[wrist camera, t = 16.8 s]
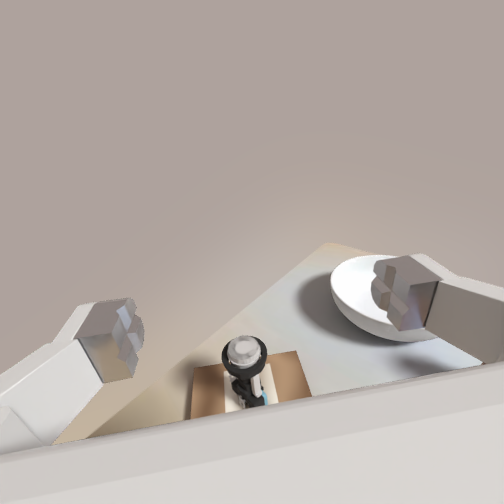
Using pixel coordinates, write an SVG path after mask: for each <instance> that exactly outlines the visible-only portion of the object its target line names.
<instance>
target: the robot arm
mask: <svg viewBox="0 0 504 504" xmlns="http://www.w3.org/2000/svg"><path fill="white" fill-rule="evenodd" d="M373 272H374V273H375V275H376V277H375V278H374V279H373V281H372V282H371V295H372V298H373V300H374V302H375V304H376V305H377V306H378V308H380V309H382V310H384V311H386V312H387V318H388V319H389V321H390V322H391V323H392V324H393V325H394V326H395V328H396V329H397V330H398V331H399V332H400V331H407V330H414V329H421V328H425V330H427V331H429V332H430V333H432V334H434V335H436V336H438V337H439V338H441V339H443V340H445V341H447V342H448V343H450V344H452V345H454V346H455V347H457V348H459V349H461V350H463V351H464V352H466V353H468V354H470V355H471V356H473V357H475V358H477V359H479V360H480V361H482V362H484V363H486V364H484V365H479V366H473V367H468V368H463V369H457V370H452V371H446V372H441V373H436V374H430V375H425V376H420V377H414V378H409V379H404V380H398V381H393V382H388V383H382V384H377V385H372V386H366V387H361V388H356V389H350V390H345V391H339V392H334V393H329V394H323V395H318V396H313V397H307V398H302V399H297V400H291V401H286V402H280V403H275V404H270V405H264V406H259V407H254V408H248V409H243V410H238V411H232V412H227V413H221V414H216V415H211V416H205V417H200V418H195V419H189V420H184V421H179V422H173V423H168V424H163V425H157V426H152V427H147V428H141V429H136V430H130V431H125V432H120V433H114V434H109V435H104V436H98V437H93V438H88V439H82V440H77V441H72V442H67V443H61V444H56V445H51V444H52V443H53V442H54V441H55V440H56V439H57V438H58V436H59V435H60V434H61V433H62V432H63V431H64V430H65V428H66V427H67V426H68V425H69V424H70V422H72V420H73V419H74V418H75V417H76V416H77V415H78V414H79V412H80V411H81V410H82V409H83V408H84V407H85V405H86V404H87V403H88V402H89V401H90V400H91V399H92V398H93V396H94V395H95V394H96V393H97V392H98V391H99V390H100V388H101V387H102V386H103V383H108V382H113V381H118V380H123V379H128V378H132V377H133V375H134V372H135V368H136V365H137V362H138V357H137V354H136V353H137V352H138V351H139V350H140V349H141V348H142V345H143V341H144V327H143V323H142V320H141V318H140V317H138V316H137V315H135V311H136V308H137V307H136V305H135V303H134V300H133V299H131V298H123V299H116V300H109V301H100V302H93V303H86V304H82V305H79V306H78V307H77V308H76V309H75V311H74V312H73V314H72V315H71V316H70V318H69V319H68V321H67V322H66V324H65V325H64V327H63V328H62V329H61V331H60V332H59V334H58V335H57V336H56V338H55V339H54V341H53V342H52V343H49V344H45V345H44V346H42V347H41V348H39V349H38V350H36V351H35V352H33V353H32V354H30V355H29V356H27V357H26V358H25V359H23V360H22V361H20V362H19V363H17V364H16V365H14V366H13V367H11V368H10V369H8V370H7V371H5V372H4V373H2V374H1V375H0V504H504V288H502V287H498V286H494V285H491V284H487V283H484V282H480V281H477V280H473V279H469V278H465V277H461V278H459V277H458V276H456V275H455V274H453V273H452V272H450V271H449V270H447V269H446V268H444V267H443V266H441V265H440V264H438V263H437V262H435V261H434V260H432V259H431V258H429V257H428V256H426V255H425V254H422V253H417V254H411V255H406V256H402V257H396V258H390V259H384V260H378V261H376V263H375V264H374V269H373Z"/></svg>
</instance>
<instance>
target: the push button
mask: <svg viewBox="0 0 504 504" xmlns="http://www.w3.org/2000/svg"><path fill="white" fill-rule="evenodd" d="M260 354H261V358H260ZM266 359H267V349H266V346H265V344H264V343H263V342H262V341H261V340H260V339H258V338H256V337H253V336H239V337H236V338H235V339H233V340H231V341H230V342H228V343H227V344H226V346H225V347H224V349H223V351H222V362H223V365H224V367H225V368H226V370H227V371H228V373H229V374H230V375H229V378H230V382H231V385H232V389H233V391H234V392H235V393H236V394H237V395H238V396H239V402H240V404H241V406H242V407H243V408H244V409H246V408H245V403H246V404H247V405H248V406H249V407H250V408H254V407H259V406H264V405H268V400H267V395H266V393H265V392H264V391H263V390H264V388H263V386H262V385H261V380H260V377H259V373H261V372H262V370H263V369H264V367H265V362H266ZM229 360H230V363H231V364H230V363H229ZM232 376H234V377H233V378H232ZM232 381H233V382H232ZM242 404H243V405H242Z"/></svg>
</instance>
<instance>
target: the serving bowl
mask: <svg viewBox="0 0 504 504" xmlns="http://www.w3.org/2000/svg"><path fill="white" fill-rule="evenodd" d="M390 258H396V257H395V256H387V255H367V256H360V257H355V258H352V259H349V260H346V261H344V262H342V263H341V264H339V265H338V266H337V267H336V268H335V269H334V270H333V272H332V274H331V276H330V287H331V293H332V296H333V299H334V301H335V303H336V305H337V307H338V308H339V310H340V311H341V312H342V313H343V314H344V316H345V317H347V318H348V319H349V320H350V321H351V322H352V323H354V324H355V325H356V326H358V327H359V328H361V329H363V330H365V331H367V332H369V333H371V334H374V335H376V336H379V337H382V338H385V339H389V340H395V341H402V342H419V341H427V340H431V339H435V338H438V336H436V335H434V334H432V333H430V332H429V331H427V330H425V328H421V329H414V330H407V331H400V332H399V331H398V330H397V329H396V328H395V326H394V325H393V324H392V323H391V322H390V321H389V319H388V318H387V312H386V311H384V310H382V309H380V308H378V306H377V305H376V304H375V302H374V300H373V298H372V295H371V282H372V281H373V279H374V278H375V277H376V275H375V273H374V272H373V269H374V264H375V263H376V261H378V260H384V259H390Z"/></svg>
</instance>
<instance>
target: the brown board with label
mask: <svg viewBox="0 0 504 504" xmlns="http://www.w3.org/2000/svg"><path fill="white" fill-rule="evenodd" d="M260 358H261V357H260ZM229 363H230V362H229ZM230 364H231V363H230ZM229 375H230V374H229V373H228V371H227V370H226V368H225V367H224V365H223V363H221V364H216V365H210V366H204V367H198V368H194V376H193V390H192V404H191V418H190V419H195V418H200V417H205V416H211V415H216V414H221V413H227V412H232V411H238V410H243V409H244V408H243V407H242V406H241V404H240V402H239V396H238V395H237V394H236V393H235V392H234V391H233V389H232V385H231V382H230V378H229ZM233 377H234V376H232V378H233ZM259 377H260V380H261V385H262V386H263V388H264V390H263V391H264V392H265V393H266V395H267V400H268V405H270V404H275V403H280V402H286V401H291V400H297V399H302V398H307V397H312V395H311V392H310V389H309V386H308V383H307V381H306V378H305V375H304V372H303V369H302V366H301V363H300V361H299V358H298V355H297V352H296V351H291V352H285V353H279V354H274V355H268V356H267V359H266V362H265V367H264V369H263V370H262V372H261V373H259ZM232 382H233V381H232ZM242 405H243V404H242ZM245 408H246V409H248V408H250V407H249V406H248V405H247V404H246V403H245Z"/></svg>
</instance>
